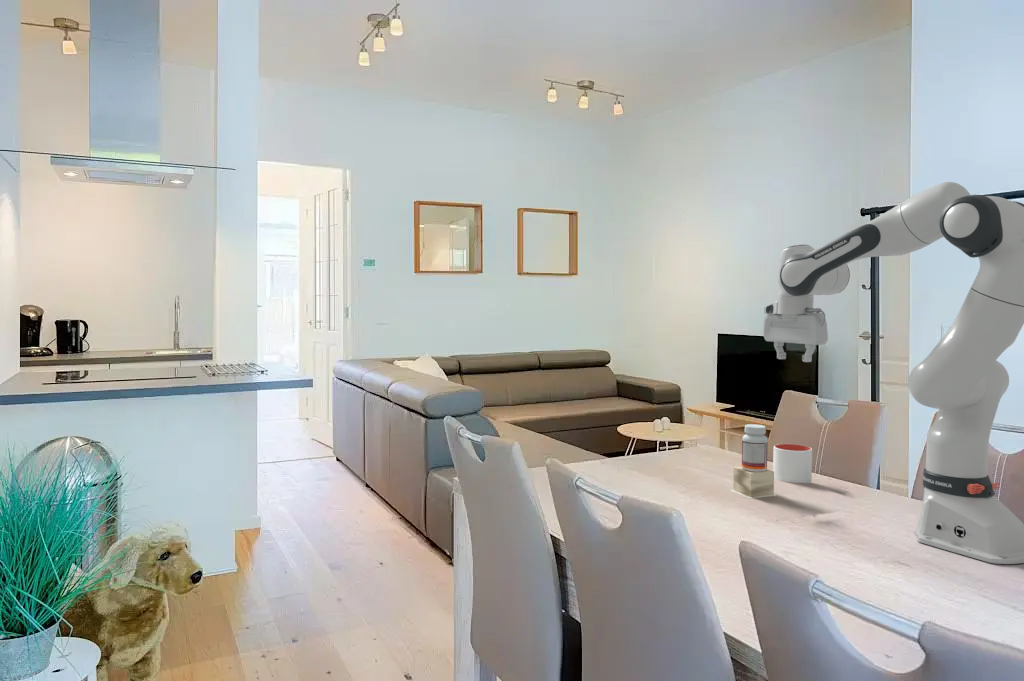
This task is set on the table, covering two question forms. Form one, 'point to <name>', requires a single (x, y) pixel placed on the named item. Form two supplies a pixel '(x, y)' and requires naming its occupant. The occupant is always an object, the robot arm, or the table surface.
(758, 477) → the maple block
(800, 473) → the cup
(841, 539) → the table surface
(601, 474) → the table surface
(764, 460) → the pill bottle
